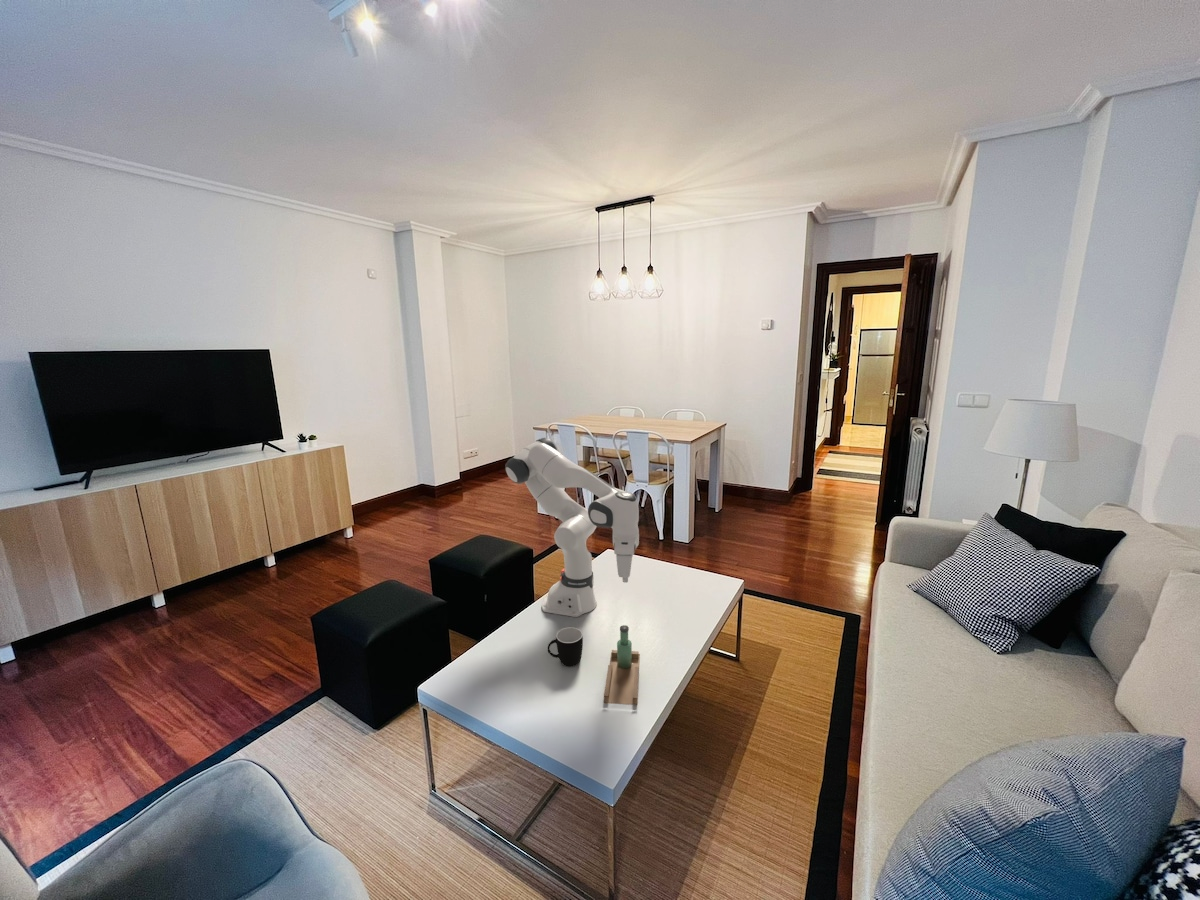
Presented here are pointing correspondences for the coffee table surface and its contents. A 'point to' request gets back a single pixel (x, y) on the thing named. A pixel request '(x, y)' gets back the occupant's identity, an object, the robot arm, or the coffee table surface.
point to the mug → (568, 646)
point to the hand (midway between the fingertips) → (625, 576)
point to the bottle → (624, 649)
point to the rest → (622, 681)
